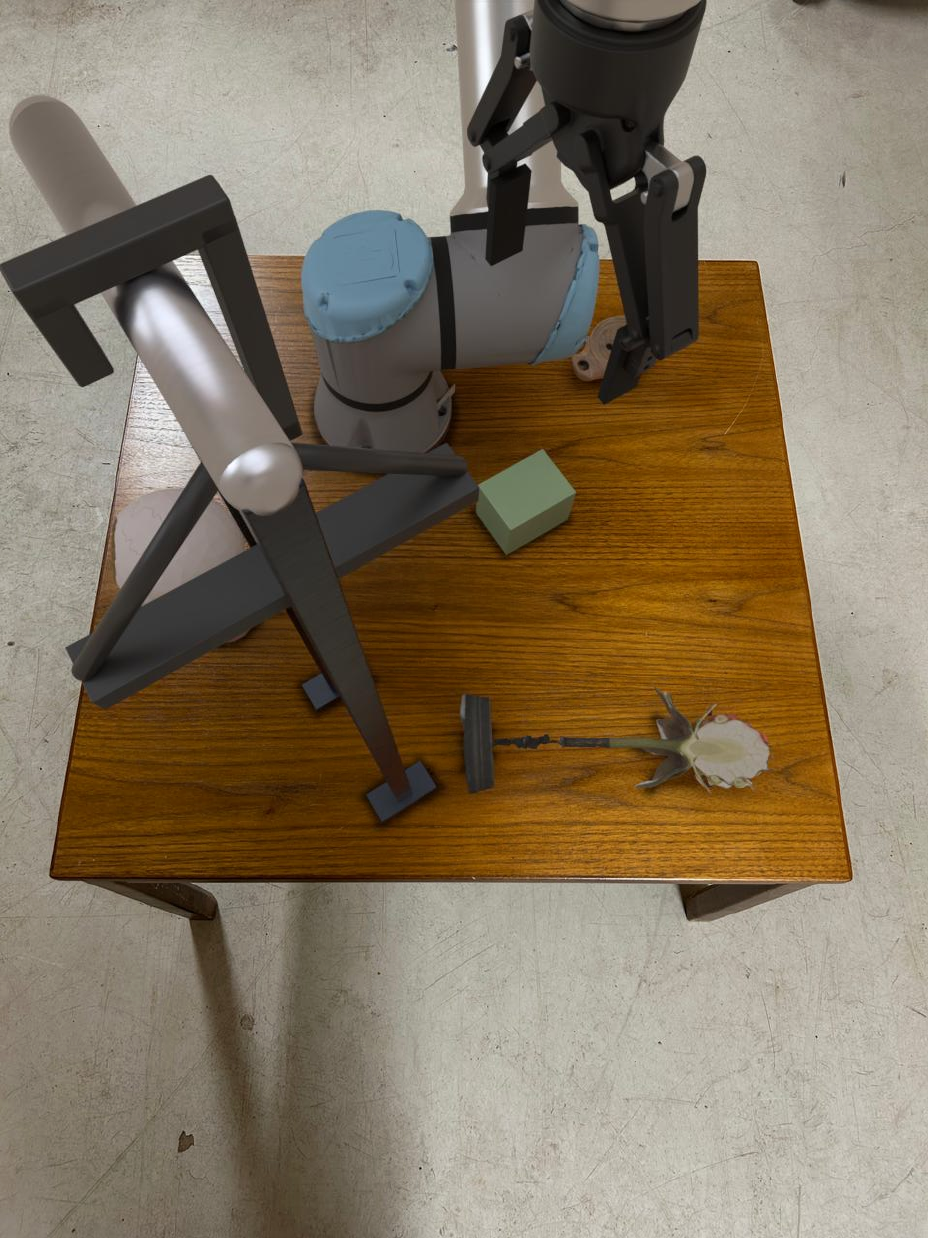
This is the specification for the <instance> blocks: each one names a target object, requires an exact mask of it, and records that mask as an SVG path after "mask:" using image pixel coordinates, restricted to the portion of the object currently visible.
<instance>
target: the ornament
mask: <svg viewBox="0 0 928 1238" xmlns="http://www.w3.org/2000/svg"><path fill="white" fill-rule="evenodd" d="M653 688H654V690H655V692H656V693H657V695H658V696H659V697H660V699H661V702H662V703H663V705H664V706H665V709H666V711H667V713H668V715H669V716H670V717H665V718H662V719H660V718H658V719H656V726H657V729H658V733H659V734H660V737H661V738H654V737H643V736H642V737H633V736H628V737H627V736H626V737H574V736H573V737H568V736H567V737H566V736H564V735H561V736H560V738H559V739H557V740H555V739H551V738H550V736H549V733H544V734H543V735H542V736H541V735H539V736H538V737H532V735H530V734H526V735H523V736H522V737H515V738H513V739H510V738H500V739H493V730H492V709H491V708H492V705H491V697H490V696H481V695H477V694H471V693H465V694H462V695H461V701H460V709H459V718H460V721H461V723H462V727H463V733H464V736H463V743H462V747H463V757H464V758H463V759H464V766H465V772H464V776H465V780H466V785H467V792H468V794H470V795H471V794H472V795H473V794H477V793H479V792H483V791H487V790H491V789H494V788H495V778H496V776H495V767H494V764H495V761H494V752H493V748H494V747H496V746H505V747H510V746H511V745H514V746H516V748H517V749H519V750H520V749H524V750H527V749H528V748H529V749H530V750H538V747H539V746H540V745H548V744H558V745H559V746H561V748H580V749H581V748H603V749H605V748H606V749H641V750H643V751H645V752H648V753H650V754H652V755H657V756H666V758H665V759H663V760H662V761H661V763H659V765H658V766H657V768H656V769H655V772H654V774H653V776H652V778H651V780H645V781H641V782H639V783H637V784H635V788H636V789H643V788H646V789H647V788H650V789H651V788H653V787H657V786H658V785H660V784H662V783H664V782H667V781H670V780H672V779H674V778H677V777H679V776H682V775H684V774H685V773H687V772H688V771H689V770H691V768H692V771H693V773H694V776H695V777H694V778H695V779H696V781H697V782H698V783H699V784H701V786H702V788H705V789H706V791H707V792H708V793H709V794H712V793H713V792H712V791H711V790H710V789H709V788H713V786H718V787H721V788H724V789H725V790H727V789H730V788H732V787H733V786H734V787H735V788H737V789H742V788H746V787H750V788H751V790H752V792H755V789H754V786H753V782H751V781H750V780H749V779H753V778H755V777H759V776H760V775H761V773H762V772H768V771H773V770H775V768H768V766H769V763H770V762H769V758H770V759H772V760H773V761H775V759H774V756H773V755H770V754H771V753H770V751H771V748H770V746H769V745H770V743H769V742H768V738H767V736H766V735H765V733H763V732H760V731H759V730H758V729H756V728H753V727H751V725H752V723H751V722H748V721H743V720H739V716H737V715H736V714H734V713H731V714H727V715H726V714H724V713H718V714H716V715H715V716H713V710H714V709H715V708H716V706H718V702H716V703H714V704H713V705H712V706H711V704H712V703H710V704H708V705H707V706H706V708H705V710H706V712H704V715H703V716H702V717H701V716H699V717H698V718H696V719H695V722H694V724H693V726H692V724H691V721H690V719H688V718H687V717H686V716H685V715H684V714H683V713H682V712H680V711H679V709H677V708H676V706H675V704H674V702H673V697H672V695H671V693H670V692H668V691H664V692H662V691H661V690H660V689H659V688H658V687H657V686H655V685H653ZM708 709H709V710H708ZM707 710H708V711H707ZM706 717H707V719H705V718H706ZM708 717H709V718H708ZM545 749H546V748H543V750H545ZM702 776H705V777H706V779H707V782H706V781H705V779H704V778H703V777H702Z"/></svg>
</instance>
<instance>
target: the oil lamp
mask: <svg viewBox="0 0 928 1238" xmlns="http://www.w3.org/2000/svg"><path fill="white" fill-rule="evenodd" d="M626 324H627V323H626V319H625V315H617V316H610V317H606V318H605V319H603V320H602V321H600V322H598V323H597V324H596V325H595V327H594V328H593V329H592V332H591V333H590V335H587V336H586V339H585V341H584V348H583V349H582V351H580V352H579V353H575V354H574V355H573V356H571V361H572V368H573V372H574V373H575V376H576V377H577V378H578V379H579V380H580V381H582V382H591V381H594V380H602V379H603V376H604V373H605V369H606V366H607V362H608V359H609V356H610V352H611V349H612V346H613V342H614V339H615V336H616V332H617V329H619V328H621V327H623V326H625V325H626Z"/></svg>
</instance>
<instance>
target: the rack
mask: <svg viewBox="0 0 928 1238" xmlns="http://www.w3.org/2000/svg"><path fill="white" fill-rule="evenodd" d="M8 122H9V123H8V130H9V131H8V132H9V137H10V142H11V144H12V146H13V149H14V151H15V153H16V154H17V156H18V158H19V159H20V161H21V163H22V164H23V166H24V167H25V169H26V171H27V173H28V174H29V176H30V178H31V180H32V181H33V183H34V184H35V186H36V188H37V189H38V191H39V194H41V197H43V199H44V201H45V203H46V205H47V206H48V208H49V210H50V211H51V213H52V214H53V216H54V218H55V219H56V221H57V223H58V225H59V226H60V227H61V229H62V231H63V233H64V235H65V236H66V235H69V234H71V233H73V232H76V231H78V230H80V229H83V228H85V227H87V226H90V225H92V224H94V223H97V222H99V221H102V220H104V219H106V218H109V217H111V216H113V215H116V214H118V213H120V212H123V211H125V210H127V209H130V208H132V207H134V206H137V205H138V204H137V203H136V202H135V200H134V198H133V197H132V196H131V194H130V193H129V191H128V189H127V188H126V186H125V184H124V183H123V182H122V180H121V179H120V177H119V175H118V174H117V173H116V171H115V169H114V168H113V166H112V165H111V163H110V162H109V160H108V159H107V156H106V155H105V154H104V152H103V151H102V149H101V148H100V146H99V145H98V143H97V141H96V140H95V138H94V137H93V136H92V133H91V132H90V131H89V130H88V128H87V126H86V124H85V123H84V122H83V120H82V119H81V117H80V116H79V115H78V114H77V113H76V111H75V110H74V109H73V108H72V107H70V106H69V105H68V104H66V103H65V102H63V101H61V100H60V99H57V98H56V97H53V96H50V95H42V94H41V95H40V94H38V95H37V94H36V95H31V96H27V97H25V98H23V99H22V100H20V101H19V102H18V103H17V104H16V106H15V107H14V108H13V110H12V113H11V115H10V116H9V121H8ZM100 295H101V296H102V297H103V299H104V302H106V304H107V306H108V308H109V309H110V312H111V313H112V314H113V315H114V317H115V319H116V322H118V324H119V326H120V328H121V329H122V332H123V333H124V334H125V336H126V337H127V339H128V341H129V343H130V344H131V346H132V348H133V349H134V351H135V353H136V355H137V356H138V357H139V359H140V361H141V363H142V364H143V366H144V368H145V370H146V371H147V372H148V374H149V376H150V378H151V379H152V381H153V383H154V384H155V386H156V388H157V389H158V391H159V392H160V394H161V397H163V399H164V401H165V402H166V404H167V406H168V408H169V409H170V411H171V413H172V414H173V416H174V418H175V419H176V421H177V423H178V425H179V426H180V429H181V430H182V432H183V434H184V435H185V437H186V439H187V440H188V442H189V444H190V446H191V447H192V449H193V452H194V453H195V455H196V456H197V458H198V460H199V462H201V461H202V462H203V464H204V466H205V467H206V469H207V471H208V472H209V474H210V476H211V477H212V479H213V481H214V482H215V484H216V486H217V487H218V489H219V490H218V492H217V494H218V495H219V497H220V498H221V501H222V502H223V503H224V505H225V507H226V510H227V511H228V513H229V514H230V515H231V516H232V517H233V519H234V521H235V523H236V525H237V526H238V528H239V530H240V532H241V534H242V537H243V540H245V542H246V544H247V546H248V548H251V547H253V546H255V545H258V547H259V548H260V550H261V552H262V554H263V556H264V558H265V559H266V561H267V563H268V565H269V567H270V569H271V570H272V572H273V574H274V576H275V578H276V580H277V581H278V583H279V585H280V587H281V589H282V591H283V593H284V594H285V596H286V598H287V600H288V602H289V604H290V605H291V606H290V607H289V608H287V609H285V610H284V611H285V612H286V614H287V616H288V618H289V619H290V621H291V623H292V625H293V626H294V628H295V630H296V631H297V633H298V635H299V637H300V639H301V640H302V642H303V644H304V646H305V647H306V649H307V651H308V652H309V654H310V656H311V658H312V659H313V661H314V664H315V665H316V666H317V668H318V671H319V672H320V673H319V674H317V675H316V676H314V677H312V678H310V679H308V680H307V681H305V682H303V683H302V684H301V687H302V689H303V690H304V692H305V694H306V695H307V697H308V699H309V700H310V702H311V704H312V706H313V707H314V709H315V711H316V712H317V713H321V712H322V711H323V710H326V709H327V708H328V707H330V706H332V705H334V704H335V703H337V702H339V701H340V700H341V701H342V703H343V705H344V707H345V709H346V710H347V712H348V714H349V716H350V718H351V719H352V722H353V723H354V725H355V727H356V729H357V731H358V733H359V735H360V736H361V738H362V740H363V741H364V743H365V746H366V747H367V749H368V751H369V753H370V755H371V756H372V758H373V760H374V762H375V764H376V766H377V767H378V769H379V771H380V773H381V775H382V776H383V778H384V780H385V782H383V783H382V784H380V785H378V786H377V787H375V788H374V789H372V790H370V791H369V792H368V793H366V794H365V796H366V798H367V800H368V801H369V803H370V804H371V807H372V808H373V810H374V812H375V813H376V816H377V817H378V819H379V820H380V822H381V823H382V824H384V823H386V822H388V821H389V820H391V819H393V818H394V817H396V816H397V815H399V814H401V813H402V812H404V811H405V810H406V809H408V808H410V807H411V806H413V805H415V804H416V803H417V802H419V801H421V800H422V799H424V798H425V797H427V796H428V795H430V794H432V793H433V792H435V791H436V790H437V789H438V786H437V784H436V782H435V781H434V780H433V778H432V776H431V775H430V773H429V772H428V770H427V768H426V766H425V765H424V763H423V762H422V760H418V761H417V762H415V763H414V764H412V765H410V766H409V767H407V768H405V765H404V763H403V760H402V757H401V755H400V751H399V749H398V746H397V743H396V740H395V738H394V737H395V736H394V733H393V731H392V729H391V726H390V722H389V720H388V717H387V714H386V711H385V709H384V706H383V703H382V700H381V697H380V694H379V691H378V687H377V686H376V682H375V680H374V677H373V674H372V671H371V668H370V665H369V663H368V660H367V659H368V658H367V656H366V653H365V650H364V648H363V645H362V642H361V639H360V637H359V634H358V630H357V628H356V624H355V622H354V619H353V615H352V613H351V610H350V608H349V605H348V602H347V599H346V596H345V593H344V590H343V588H342V585H341V583H340V582H341V581H340V579H338V576H337V573H336V570H335V567H334V564H333V561H332V558H331V555H330V553H329V550H328V547H327V544H326V541H325V538H324V535H323V532H322V530H321V527H320V524H319V521H318V518H317V515H316V509H315V506H314V504H313V500H312V498H311V495H310V492H309V489H308V487H307V484H306V481H305V480H304V470H303V469H302V464H301V460H300V458H299V456H298V454H297V452H296V450H295V448H294V447H293V445H292V444H291V442H292V441H289V439H288V438H287V436H286V435H285V433H284V431H283V430H282V428H281V427H280V425H279V424H278V422H277V421H276V419H275V418H274V416H273V414H272V413H271V411H270V410H269V408H268V407H267V405H266V404H265V402H264V401H263V399H262V398H261V396H260V394H259V393H258V391H257V390H256V388H255V387H254V385H253V384H252V382H251V381H250V379H249V377H248V376H247V374H246V373H245V371H244V369H243V366H242V364H241V363H240V362H239V361H238V358H236V355H234V353H233V352H232V350H231V348H230V347H229V345H228V344H227V342H226V341H225V339H224V338H223V336H222V334H221V332H220V331H219V330H218V328H217V326H216V325H215V323H214V322H213V320H212V318H211V317H210V316H209V314H208V313H207V311H206V309H205V308H204V306H203V304H201V302H200V301H199V299H198V298H197V295H196V294H195V293H194V291H193V289H192V288H191V286H190V285H189V283H188V282H187V280H186V278H185V277H184V276H183V274H182V273H181V271H180V269H179V268H178V266H177V265H176V263H175V262H174V260H173V261H171V262H169V263H167V264H164V265H162V266H160V267H158V268H155V269H153V270H151V271H149V272H146V273H144V274H142V275H140V276H137V277H135V278H133V279H131V280H128V281H126V282H124V283H122V284H119V285H117V286H115V287H113V288H110V289H108V290H106V291H104V292H101V293H100Z"/></svg>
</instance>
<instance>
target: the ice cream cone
mask: <svg viewBox="0 0 928 1238" xmlns="http://www.w3.org/2000/svg"><path fill="white" fill-rule="evenodd" d="M183 489H184V488H162V489H157V490H154V491H151V492H147V493H146V494H145V493H144V494H143V495H140V496H139V497H138V498H136V499H135V500H133V501H131V502H130V503H129V504H128V505H127V506H125V507H124V508H123V509H122V510H121V511H119V512H118V514H117V515H116V517H115V520H114V522H113V524H112V527H111V533H112V534H111V540H110V542H111V543H110V546H111V552H110V553H111V562H110V566H111V567H112V577H113V580H114V582H115V584H116V586H117V587H118V589H119V590H120V589H121V588H122V586H123V584H124V583H125V581H126V580H127V578H128V577H129V575H130V573H131V572H132V570H133V569H134V567H135V565H136V564H137V562H138V561H139V559H140V558H141V556H142V554H143V553H144V551H145V550H146V548H147V546H148V545H149V543H150V542H151V540H152V539H153V537H154V535H155V534H156V532H157V531H158V529H159V527H160V526H161V524H162V523H163V521H164V520H165V518H166V516H167V515H168V513H169V512H170V510H171V508H172V507H173V505H174V504H175V502H176V501H177V499H178V497H179V496H180V494H181V493H182V491H183ZM244 540H245V539H244V537H243V535H242V533H241V532H240V530H239V528H238V526H237V525H236V523H235V521H234V519H233V517H232V516H231V514H230V512H229V511H228V509H227V508H225V507H224V506H223V505H222V504H221V503H219V502H218V501H217V500H216V499H214V498H213V499H212V501H211V502H210V504H209V505H208V507H207V508H206V510H205V511H204V513H203V514H202V516H201V517H200V519H199V520H198V522H197V523H196V525H195V526H194V528H193V529H192V531H191V532H190V534H189V535H188V537H187V538H186V540H185V541H184V543H183V544H182V546H181V547H180V549H179V550H178V552H177V553H176V555H175V556H174V558H173V559H172V561H171V562H170V564H169V565H168V567H167V568H166V570H165V571H164V573H163V574H162V576H161V577H160V579H159V580H158V582H157V583H156V585H155V586H154V588H153V589H152V591H151V592H150V594H149V595H148V597H147V598H146V600H145V601H144V603H143V604H142V606H143V605H145V604H147V603H149V602H151V601H153V600H154V599H156V598H158V597H160V596H162V595H164V594H166V593H167V592H169V591H171V590H173V589H175V588H177V587H179V586H181V585H182V584H184V583H186V582H188V581H190V580H192V579H194V578H195V577H197V576H199V575H201V574H203V573H205V572H207V571H208V570H210V569H212V568H214V567H216V566H218V565H220V564H221V563H223V562H225V561H227V560H229V559H231V558H233V557H235V556H236V555H238V554H240V553H242V552H244V551H246V548H245V547H246V546H245V541H244ZM250 630H251V629H249V630H247V631H246V632H244V633H242V634H240V635H239V636H237V637H235V638H233V639H231V640H230V641H228V642H226V643H225V644H228V643H234V642H236V641H238V640H239V639H242V638H244V637H245V636H246V635H247V634H248V632H249V631H250Z"/></svg>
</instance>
